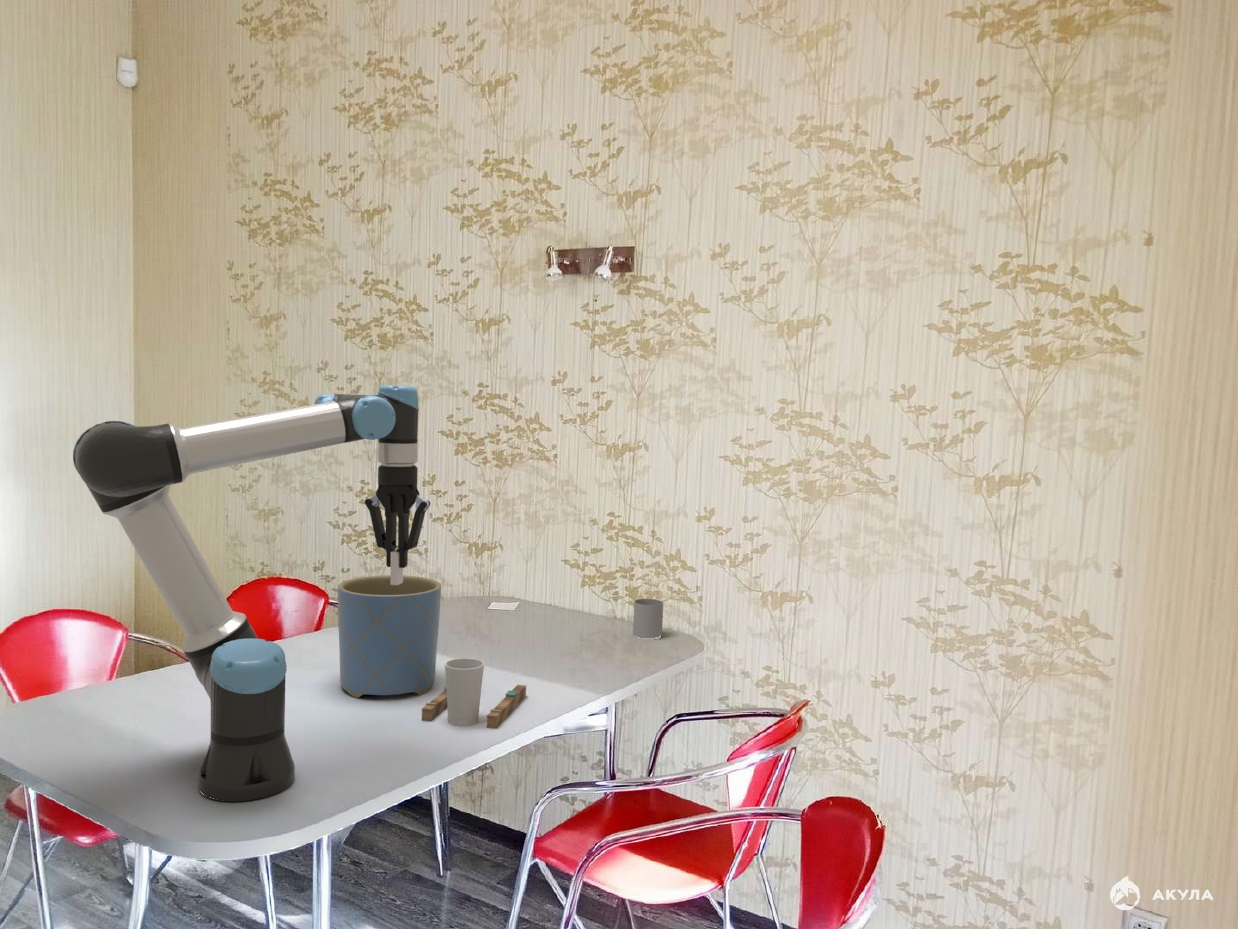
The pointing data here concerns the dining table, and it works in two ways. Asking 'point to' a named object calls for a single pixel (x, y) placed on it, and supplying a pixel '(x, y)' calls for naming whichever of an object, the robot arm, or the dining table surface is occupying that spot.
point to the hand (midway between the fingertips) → (396, 583)
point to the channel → (495, 714)
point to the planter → (388, 634)
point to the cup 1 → (463, 690)
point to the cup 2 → (648, 618)
